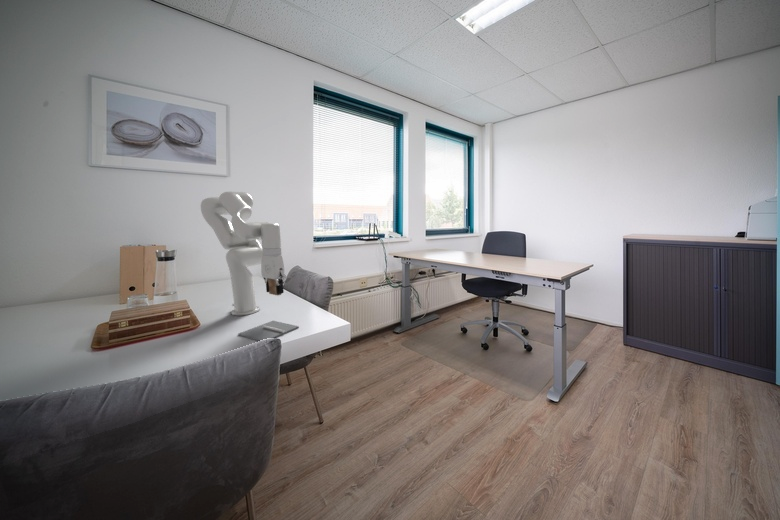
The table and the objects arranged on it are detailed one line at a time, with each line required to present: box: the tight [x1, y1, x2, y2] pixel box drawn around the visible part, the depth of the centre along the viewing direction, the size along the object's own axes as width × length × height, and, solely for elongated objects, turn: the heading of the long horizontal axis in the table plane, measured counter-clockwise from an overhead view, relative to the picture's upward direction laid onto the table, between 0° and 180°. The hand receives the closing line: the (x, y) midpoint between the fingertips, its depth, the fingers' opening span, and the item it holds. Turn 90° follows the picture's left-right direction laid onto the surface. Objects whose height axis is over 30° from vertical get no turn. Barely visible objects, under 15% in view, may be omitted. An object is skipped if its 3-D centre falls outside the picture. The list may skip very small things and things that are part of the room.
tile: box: [268, 279, 282, 296], centre depth 129 cm, size 6×2×7 cm, turn 59°
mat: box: [237, 320, 300, 342], centre depth 117 cm, size 16×16×2 cm
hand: (275, 292), depth 129 cm, fingers closed on tile, 6 cm apart
